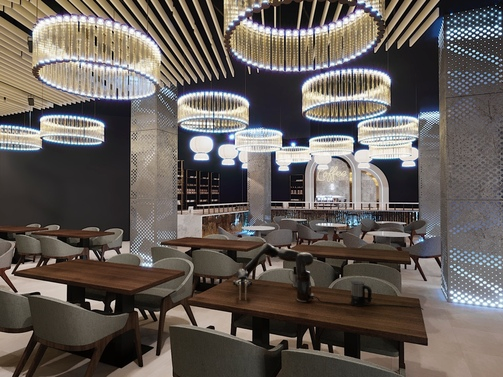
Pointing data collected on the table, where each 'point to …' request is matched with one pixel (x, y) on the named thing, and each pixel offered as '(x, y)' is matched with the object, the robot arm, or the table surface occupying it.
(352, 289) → the milk frother
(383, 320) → the table surface
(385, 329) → the table surface
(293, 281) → the glass holder
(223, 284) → the table surface
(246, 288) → the toaster bracket
